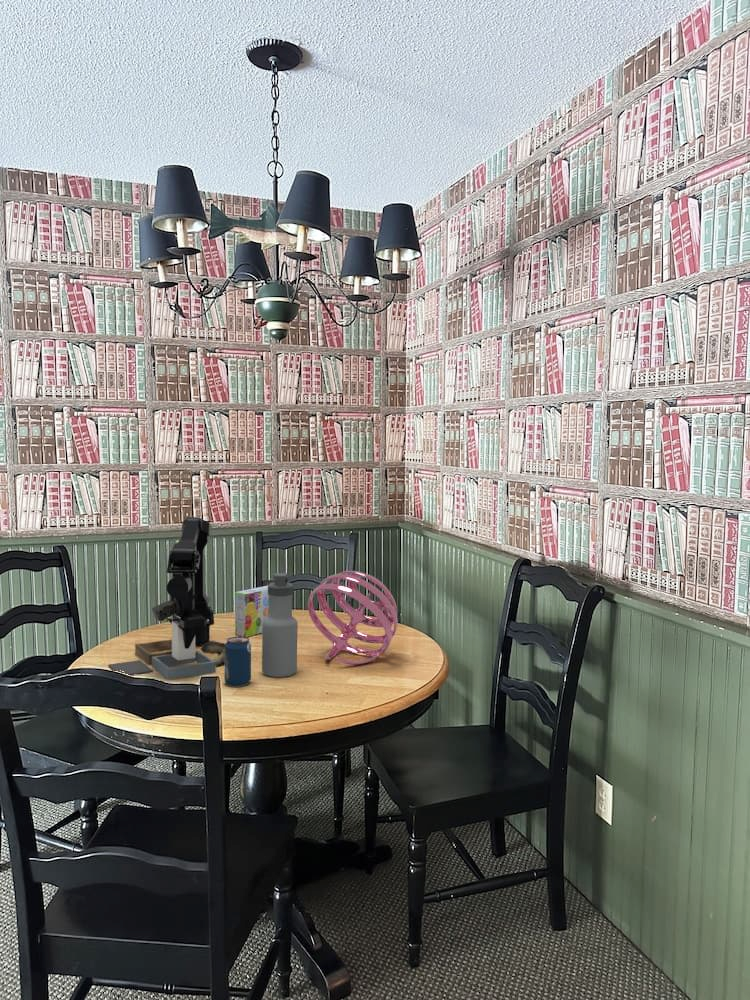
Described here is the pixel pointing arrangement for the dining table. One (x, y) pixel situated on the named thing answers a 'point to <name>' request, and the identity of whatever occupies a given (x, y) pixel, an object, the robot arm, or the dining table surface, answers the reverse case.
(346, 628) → the spiral basket
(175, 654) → the letter block
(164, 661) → the frame
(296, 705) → the dining table surface
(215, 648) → the eagle figurine
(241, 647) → the soda can
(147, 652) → the frame
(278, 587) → the water bottle
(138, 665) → the dark grey flat slab
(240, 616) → the snack box
